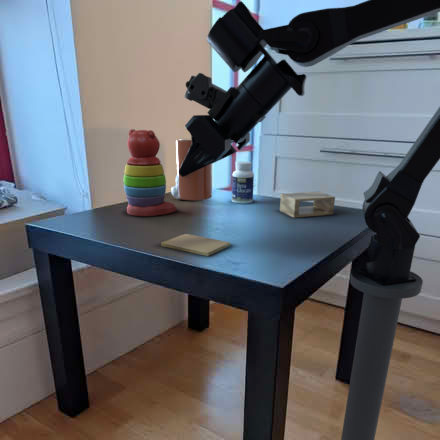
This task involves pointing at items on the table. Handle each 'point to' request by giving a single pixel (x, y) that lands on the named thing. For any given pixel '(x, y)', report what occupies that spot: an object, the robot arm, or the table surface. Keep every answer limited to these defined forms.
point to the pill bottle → (242, 183)
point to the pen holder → (192, 176)
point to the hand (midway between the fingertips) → (186, 172)
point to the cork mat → (196, 244)
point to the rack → (320, 206)
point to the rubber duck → (175, 190)
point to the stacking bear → (145, 176)
